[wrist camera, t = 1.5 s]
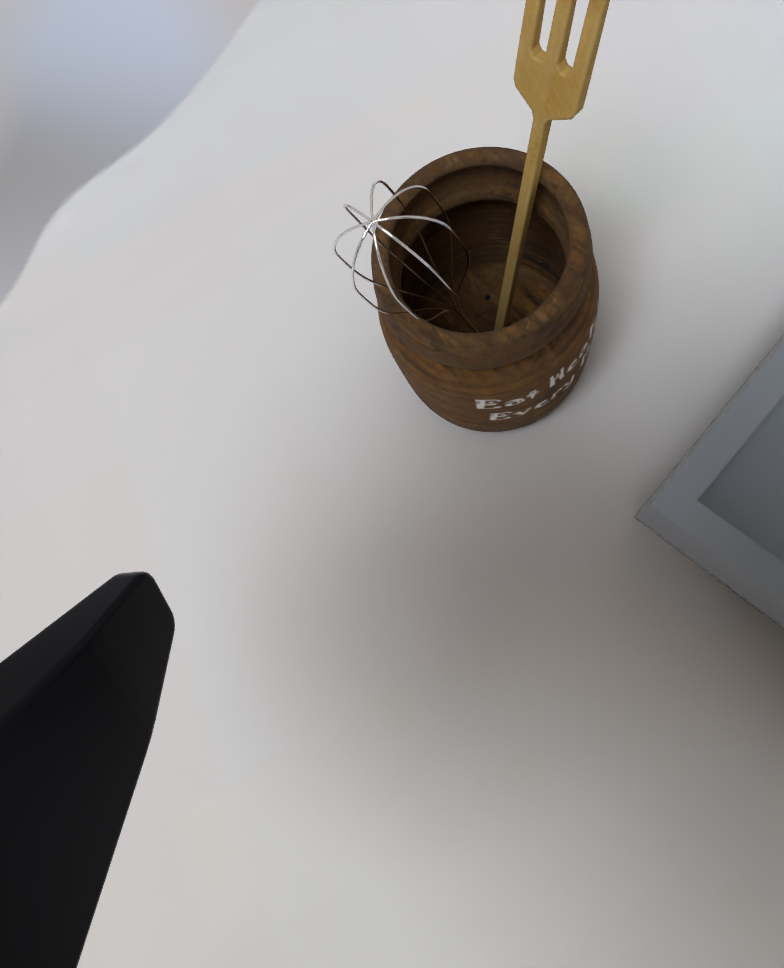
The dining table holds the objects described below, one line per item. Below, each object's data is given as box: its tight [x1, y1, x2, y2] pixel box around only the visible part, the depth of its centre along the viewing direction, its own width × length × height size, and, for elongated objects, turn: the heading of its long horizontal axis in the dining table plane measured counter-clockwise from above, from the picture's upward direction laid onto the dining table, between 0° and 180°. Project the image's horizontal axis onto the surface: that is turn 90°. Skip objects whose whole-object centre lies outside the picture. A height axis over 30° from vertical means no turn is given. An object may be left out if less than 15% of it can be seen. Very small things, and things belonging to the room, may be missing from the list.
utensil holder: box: [333, 0, 610, 432], centre depth 17 cm, size 6×6×12 cm
